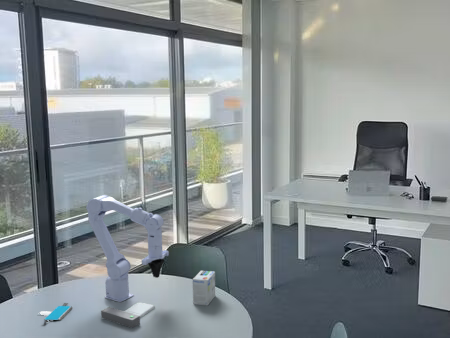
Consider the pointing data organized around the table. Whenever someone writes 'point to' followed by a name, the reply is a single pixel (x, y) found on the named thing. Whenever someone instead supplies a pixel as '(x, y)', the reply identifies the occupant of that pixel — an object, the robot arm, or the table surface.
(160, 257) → the robot arm
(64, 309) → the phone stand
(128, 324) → the charging dock
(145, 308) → the external hard drive
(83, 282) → the table surface
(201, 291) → the light bulb box
